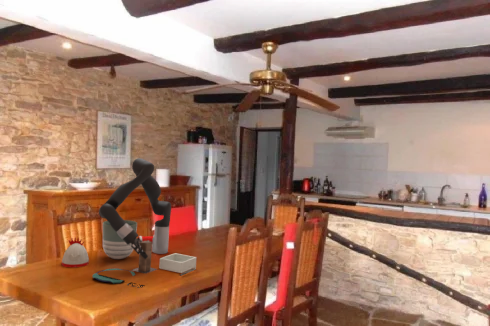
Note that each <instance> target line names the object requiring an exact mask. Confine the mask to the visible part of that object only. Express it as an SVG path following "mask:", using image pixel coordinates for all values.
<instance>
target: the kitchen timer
mask: <svg viewBox="0 0 490 326" xmlns="http://www.w3.org/2000/svg"><path fill="white" fill-rule="evenodd" d="M81 242H82V239H80V237H79V236H78V237H77V238H76V237H74V239H73V237H71V239H68V244H69V246H68V247H67V248H66V249H65V250H64V254H63V256H62V258H61V266H63V267H65V268H82V267H85V266H88V265H89V263H90V259H89V255H88V251H87V249H86V248H85V246H84V243H85V241H83V242H82V243H81Z"/></svg>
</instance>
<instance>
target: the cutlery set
mask: <svg viewBox="0 0 490 326" xmlns="http://www.w3.org/2000/svg"><path fill="white" fill-rule="evenodd" d="M105 271H106V272H107V271H108V272H109V271H124V268H123V269H122V268H107V269H103V270H99V271H97V272H95V273H93V274H92V279H95V280H97V281H100V282H105V283H112V284H121V283H122V282H125V280H124V279H123V280H122V279H119V278H115V277H111V276H106V275H102V274H99V273H101V272H105ZM126 271H128V272H130V274H131V275H132V277H134V276H136V273H135V271H132V270H128V269H126ZM129 284H130V285H131V286H132V285H133V284H134V285H136V287H137V289H140V288H139V286H140V287H141V286H142V287H141V288H144V287H145V286H146V285H144V284H138V285H139V286H138V285H137V283H135V282H134V283H133V282H132V281H130V282H129V283H126V286H127V285H128V286H129ZM134 285H133V286H134ZM143 286H144V287H143Z"/></svg>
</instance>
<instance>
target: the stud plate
mask: <svg viewBox="0 0 490 326" xmlns="http://www.w3.org/2000/svg"><path fill="white" fill-rule="evenodd" d="M138 269H139V267H136V268H133V269H131V271H132V272H136V273H141V274H145V275H147V274H149V273H151V272H154V271H157V270H158V268H154V267H151V269H150V270H148V271H141V270H138Z"/></svg>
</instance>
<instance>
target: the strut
mask: <svg viewBox="0 0 490 326" xmlns="http://www.w3.org/2000/svg"><path fill="white" fill-rule="evenodd" d="M140 244H141V246H142V249H143V251H144V252H145V253H146V254H147V255H148V257H147V258H146V259H144V258H143V257H142V255H141V254H138V255H139V257H138V268H139V269H138V270H141V271H148V270H150V269H151V268H152V267H151V265H152V253H153V252H152V242H150V241H143V242H140Z"/></svg>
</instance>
